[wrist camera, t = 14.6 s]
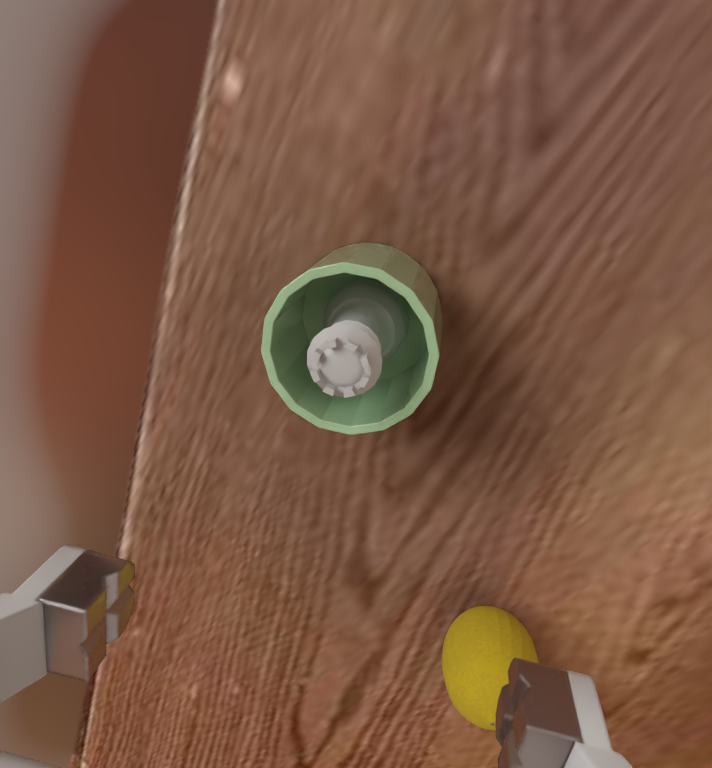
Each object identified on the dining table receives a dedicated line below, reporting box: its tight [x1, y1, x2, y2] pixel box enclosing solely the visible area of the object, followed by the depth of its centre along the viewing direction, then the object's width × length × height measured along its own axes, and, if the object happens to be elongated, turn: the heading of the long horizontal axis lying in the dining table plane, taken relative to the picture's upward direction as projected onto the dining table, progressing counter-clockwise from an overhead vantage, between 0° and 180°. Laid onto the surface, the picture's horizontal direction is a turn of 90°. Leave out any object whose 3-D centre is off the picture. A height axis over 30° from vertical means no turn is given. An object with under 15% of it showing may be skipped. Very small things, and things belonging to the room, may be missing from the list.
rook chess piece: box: [307, 279, 409, 398], centre depth 27 cm, size 4×4×8 cm
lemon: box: [442, 606, 539, 730], centre depth 34 cm, size 6×6×8 cm
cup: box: [261, 243, 443, 435], centre depth 28 cm, size 8×8×6 cm
